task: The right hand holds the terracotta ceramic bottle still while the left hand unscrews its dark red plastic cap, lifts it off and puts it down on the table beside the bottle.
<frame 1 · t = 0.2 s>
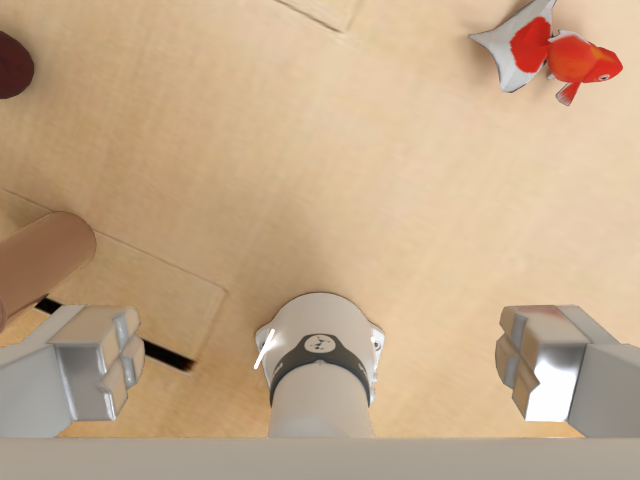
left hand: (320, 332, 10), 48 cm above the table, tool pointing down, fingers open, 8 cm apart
bottle: (66, 240, 61), on the table
dark maroon ball: (14, 64, 53), on the table
fish: (525, 55, 52), on the table
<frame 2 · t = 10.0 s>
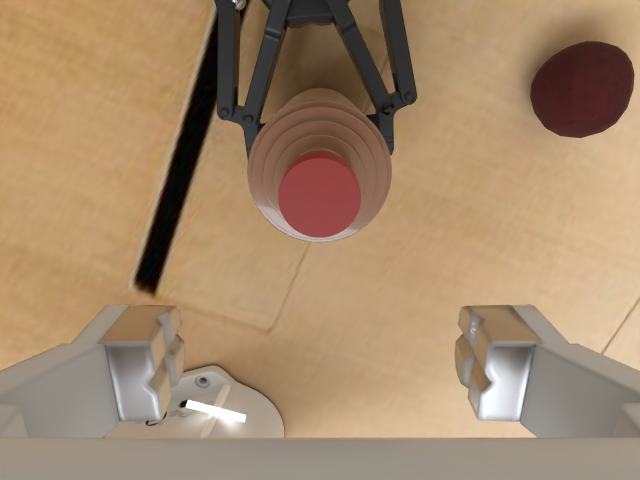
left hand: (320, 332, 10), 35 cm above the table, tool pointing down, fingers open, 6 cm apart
right hand: (324, 198, 38), fingers closed on bottle, 8 cm apart
cap: (319, 197, 21), point 23 cm above the table, screwed on, not yet turned
bottle: (319, 132, 42), on the table, touching right hand
dark maroon ball: (557, 90, 41), on the table
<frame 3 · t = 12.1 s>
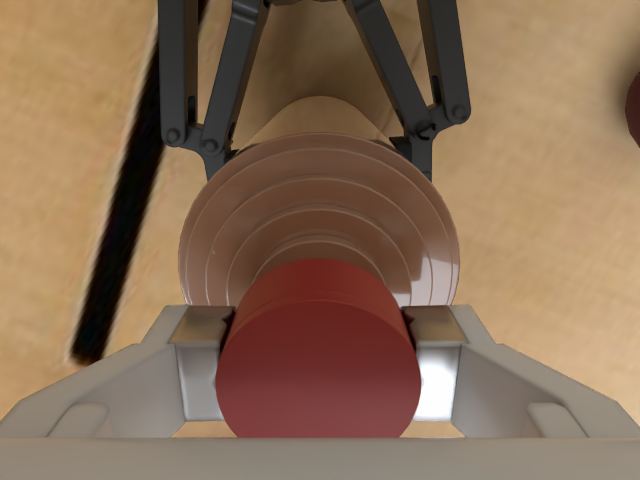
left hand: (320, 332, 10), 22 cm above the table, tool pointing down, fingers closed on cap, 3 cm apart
right hand: (326, 258, 26), fingers closed on bottle, 8 cm apart
cap: (318, 381, 8), point 23 cm above the table, screwed on, not yet turned, touching left hand
bottle: (319, 158, 30), on the table, touching right hand
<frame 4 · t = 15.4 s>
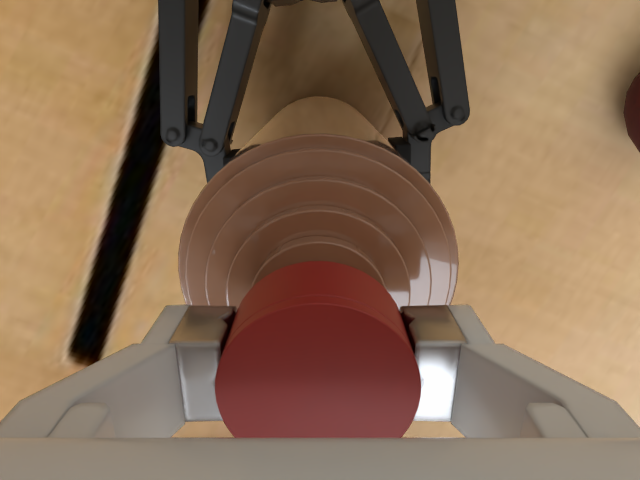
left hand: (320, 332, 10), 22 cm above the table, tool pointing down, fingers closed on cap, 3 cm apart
right hand: (324, 258, 26), fingers closed on bottle, 8 cm apart
cap: (318, 384, 8), point 23 cm above the table, turned 83° so far, risen 0.1 cm, still on its thread, touching left hand
bottle: (318, 158, 30), on the table, touching right hand
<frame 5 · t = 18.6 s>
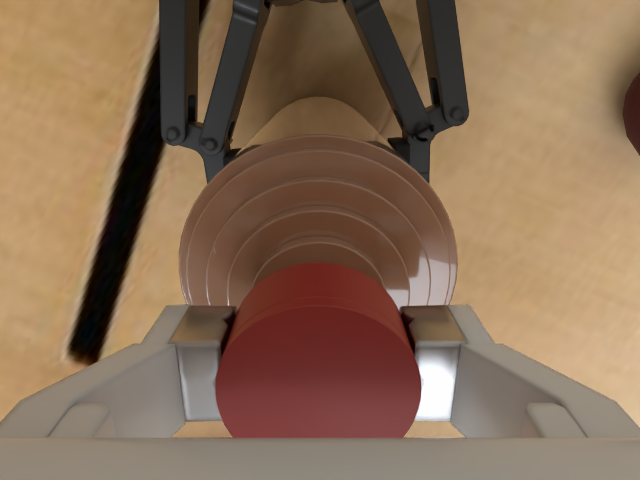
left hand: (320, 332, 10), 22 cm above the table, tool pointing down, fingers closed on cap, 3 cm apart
right hand: (323, 258, 26), fingers closed on bottle, 8 cm apart
cap: (318, 385, 8), point 23 cm above the table, turned 165° so far, risen 0.1 cm, still on its thread, touching left hand
bottle: (318, 158, 30), on the table, touching right hand
when the left hand's fingers open (2 cm above the table, at t = 34.9 s): cap drops 2 cm, point 2 cm above the table.
when the right hand's fingers open (6 cm above the table, at t = 36.1 s): bottle stays where it is, on the table.
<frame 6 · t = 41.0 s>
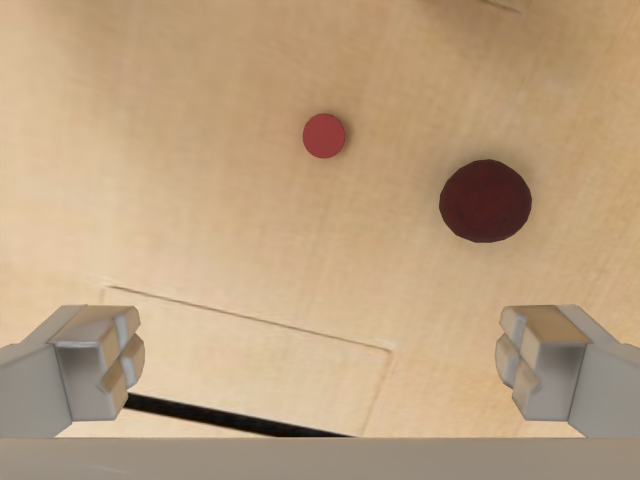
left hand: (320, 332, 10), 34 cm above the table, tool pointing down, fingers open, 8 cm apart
cap: (323, 136, 40), point 2 cm above the table, off its thread
dark maroon ball: (470, 191, 44), on the table
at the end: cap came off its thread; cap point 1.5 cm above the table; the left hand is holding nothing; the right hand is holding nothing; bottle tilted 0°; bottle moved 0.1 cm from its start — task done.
